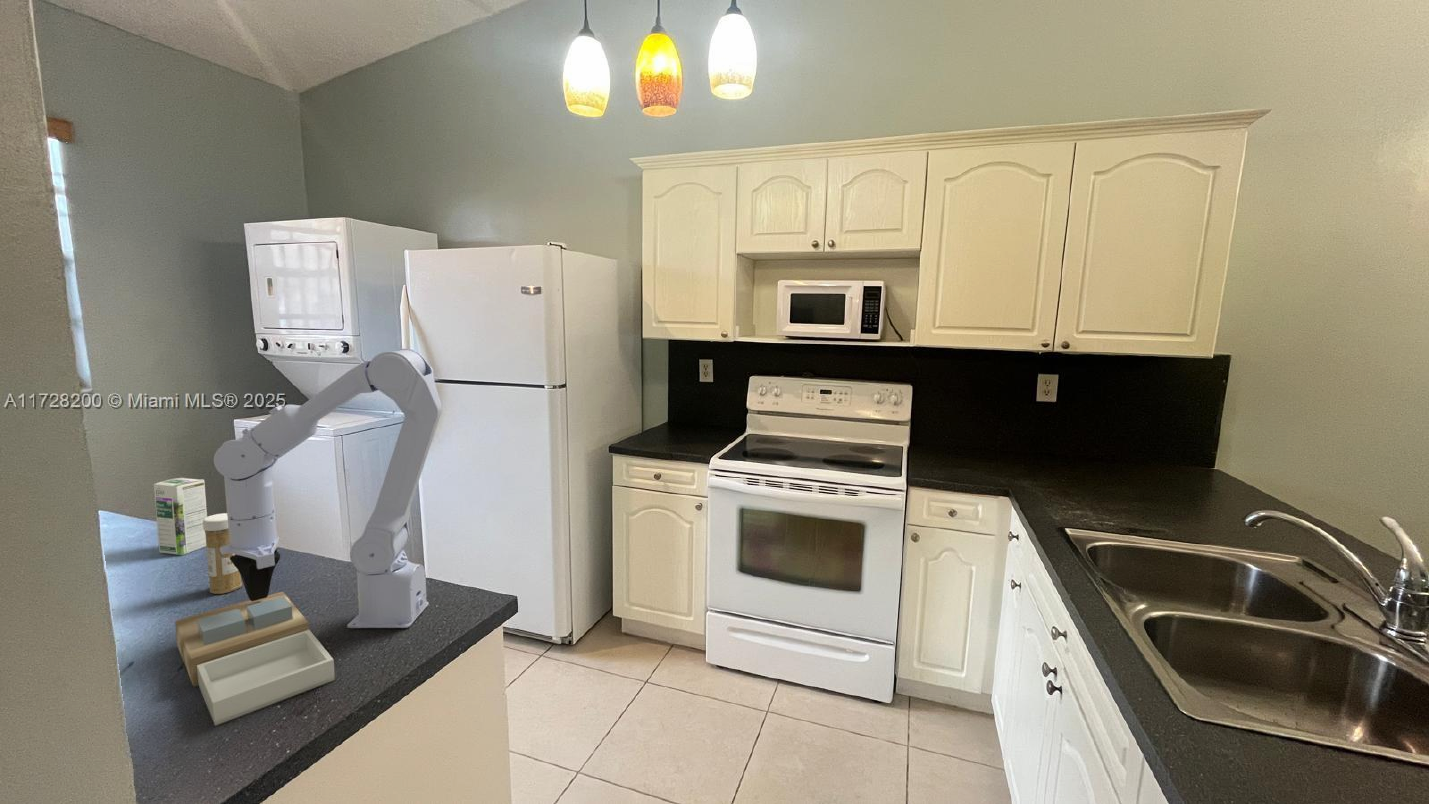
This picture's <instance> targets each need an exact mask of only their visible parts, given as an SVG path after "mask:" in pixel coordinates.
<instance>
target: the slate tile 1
mask: <svg viewBox="0 0 1429 804" xmlns="http://www.w3.org/2000/svg"><path fill="white" fill-rule="evenodd" d="M197 623H198V633H199V635H200V638H201V640H202V642H203V644H204V645H207V644H211V643H214V642H217V641H221V640H224V639H227V638H231V637H234V636H237V635H241V634H244V633H246V626H245V619H244V617H243V616H242V614H241V613H240V611H239V610H238V609H235V610H231V611H228V612H224V613H220V614H217V615H213V616H209V617H206V618H202V619H199V620H197Z"/></svg>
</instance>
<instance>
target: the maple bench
mask: <svg viewBox="0 0 1429 804" xmlns="http://www.w3.org/2000/svg"><path fill="white" fill-rule="evenodd" d="M283 596H284V597H285V598H286V600H287V601H288V602H289V603H290V605H291V606H292V615H293V619H291V620H287V621H284V622H281V623H277V624H274V625H271V626H267V627H264V628H261V629H257V630H255V629H254V628H253V626H252V625H251V623H250V622H249V620H248V616H247V606H250V605H253V604H257V603H261V602H264V601H268V600H272V599H275V598H279V597H283ZM235 609H238V610H239V611H240V613H241V614H242V616H243V617H244V619H245V626H246V633H244V634H241V635H237V636H234V637H231V638H227V639H224V640H221V641H217V642H214V643H211V644H207V645H204V644H203V642H202V640H201V638H200V635H199V633H198V623H197V620H199V619H202V618H206V617H209V616H213V615H217V614H220V613H224V612H228V611H231V610H235ZM174 624H175V635H176V636H175V637H176V643H177V644H176V645H177V648H178V651H179V653H180V656H181V659H182V661H183V664H184V666H185V668H186V671H187V674H188V676H189V679H190V681H191V684H192V686H193V688H194V687H199V684H198V673H197V665H199V664H202V663H206V662H209V661H212V660H215V659H218V658H221V657H224V656H228V655H231V654H234V653H237V652H240V651H243V650H247V649H250V648H253V647H256V646H259V645H262V644H265V643H269V642H272V641H275V640H278V639H281V638H284V637H287V636H291V635H294V634H297V633H300V632H303V631H306V630H310V626H309V625H310V624H309V621H308V619H306V617H305V616H304V615H303V614H302V613H301V612H300V611H299V609H298V608H297V607H296V605H294V603H293V602H292V600H291V599H290V598H289V597H288V596H287V595H286V593H285V592H284V591H280V592H276V593H273V594H268V597H267V598H263V599H259V600H256V601H251V600H250V599H249V600H247V601H242V602H239V603H235V604H231V605H228V606H224V607H221V608H217V609H213V610H210V611H205V612H202V613H198V614H195V615H194V614H193V615H191V616H186V617H183V618H179V619H175V620H174Z"/></svg>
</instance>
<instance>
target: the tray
mask: <svg viewBox="0 0 1429 804" xmlns="http://www.w3.org/2000/svg"><path fill="white" fill-rule="evenodd" d="M197 673H198V684H199V685H198V688H199V690H200V694H201V696H202V698H203V701H204V703H205V705H206V707H207V710H208V713H209V715H210V717H211V720H212V722H213V725H214V726H215V727H216V726H219V725H222V724H223V723H226V722H229V721H231V720H234V719H237V718H240V717H243V716H245V715H247V714H250V713H253V712H255V711H258V710H261V709H263V708H266V707H268V706H270V705H273V704H276V703H278V702H281V701H284V700H286V699H289V698H292V697H294V696H297V695H299V694H303V693H305V692H307V691H310V690H313V689H315V688H317V687H320V686H323V685H326V684H328V683H331V682H333V681H335V680H336V677H335V674H336V673H335V661H334V658H333V657H332V656H331V654H330V653H329V652H328V651H327V649H325V647H324V646H323V644H322V643H321V642H320V640H318V638H316V636H315V635H314V634H313V633H312V631H311V630H310V629H309V630H306V631H303V632H300V633H297V634H294V635H291V636H287V637H284V638H281V639H278V640H275V641H272V642H269V643H265V644H262V645H259V646H256V647H253V648H250V649H247V650H243V651H240V652H237V653H234V654H231V655H228V656H224V657H221V658H218V659H215V660H212V661H209V662H206V663H202V664H199V665H197Z"/></svg>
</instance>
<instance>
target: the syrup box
mask: <svg viewBox="0 0 1429 804" xmlns="http://www.w3.org/2000/svg"><path fill="white" fill-rule="evenodd" d="M205 483H206V482H205V479H201V478H200V479H199V478H198V479H197V478H186V477H178V478H171V479H166V480H162V481H159V482H156V483H154V484H153V492H154V502H155V503H154V504H155V513H156V516H155V517H156V526H157V528H156V529H157V537H158V539H157V540H158V551H159V554H171V555H178V556H184V555H187V554H189V553H191V552H195V551H197V550H200V549H203V548H206V535H205V530H204V529H203V519H204V518H206V517H208V511H207V509H208V508H207V497H206V485H205Z"/></svg>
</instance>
